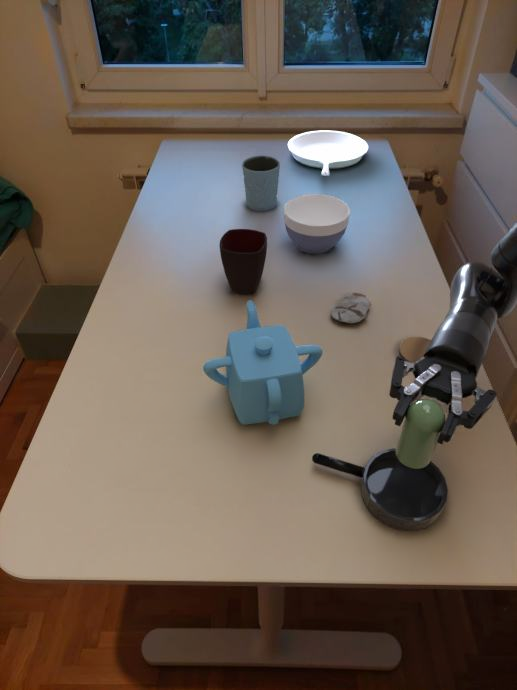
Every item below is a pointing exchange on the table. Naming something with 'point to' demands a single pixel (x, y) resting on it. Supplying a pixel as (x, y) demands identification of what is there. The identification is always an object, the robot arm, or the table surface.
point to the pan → (327, 149)
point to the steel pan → (403, 492)
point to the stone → (351, 308)
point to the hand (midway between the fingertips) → (419, 430)
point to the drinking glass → (261, 182)
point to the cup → (243, 258)
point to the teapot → (263, 371)
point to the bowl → (316, 221)
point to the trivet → (413, 348)
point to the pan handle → (338, 465)
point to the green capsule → (420, 433)
